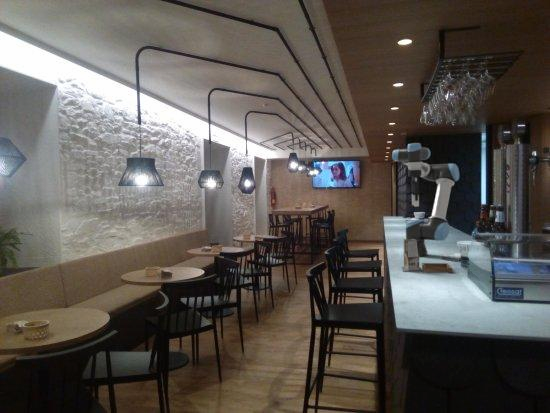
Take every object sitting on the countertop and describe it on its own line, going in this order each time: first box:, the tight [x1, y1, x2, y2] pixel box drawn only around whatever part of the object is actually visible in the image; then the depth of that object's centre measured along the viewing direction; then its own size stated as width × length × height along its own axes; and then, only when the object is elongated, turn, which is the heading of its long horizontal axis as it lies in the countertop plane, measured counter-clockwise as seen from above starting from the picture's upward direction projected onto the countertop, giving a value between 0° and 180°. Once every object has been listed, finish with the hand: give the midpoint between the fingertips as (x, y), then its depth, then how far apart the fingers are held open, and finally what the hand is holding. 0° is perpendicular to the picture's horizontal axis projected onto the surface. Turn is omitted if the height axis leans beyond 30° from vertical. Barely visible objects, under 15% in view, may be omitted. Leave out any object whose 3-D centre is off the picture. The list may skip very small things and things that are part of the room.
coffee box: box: [403, 238, 420, 270], centre depth 237 cm, size 9×6×16 cm
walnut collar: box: [421, 262, 453, 274], centre depth 234 cm, size 14×14×2 cm
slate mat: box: [401, 266, 423, 273], centre depth 237 cm, size 12×10×1 cm
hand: (415, 205), depth 253 cm, fingers open, 13 cm apart
